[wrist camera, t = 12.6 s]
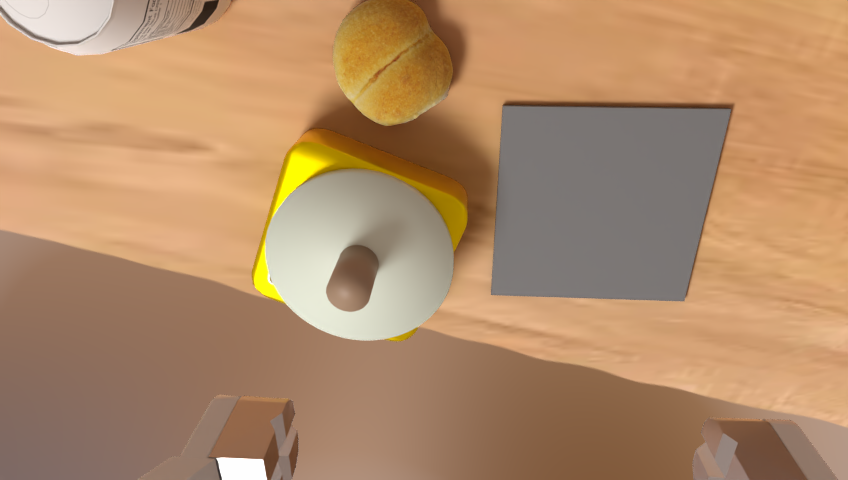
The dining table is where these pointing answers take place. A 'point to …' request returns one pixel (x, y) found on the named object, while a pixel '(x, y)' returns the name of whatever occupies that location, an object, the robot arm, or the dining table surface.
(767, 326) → the dining table surface
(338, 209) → the lid
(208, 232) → the dining table surface
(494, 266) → the mat
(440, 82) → the bread roll
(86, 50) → the supplement can
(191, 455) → the robot arm
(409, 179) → the element tile
